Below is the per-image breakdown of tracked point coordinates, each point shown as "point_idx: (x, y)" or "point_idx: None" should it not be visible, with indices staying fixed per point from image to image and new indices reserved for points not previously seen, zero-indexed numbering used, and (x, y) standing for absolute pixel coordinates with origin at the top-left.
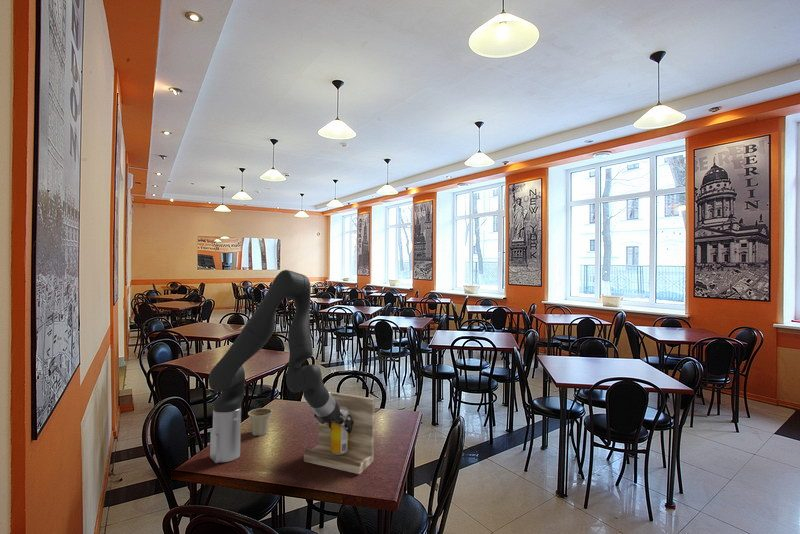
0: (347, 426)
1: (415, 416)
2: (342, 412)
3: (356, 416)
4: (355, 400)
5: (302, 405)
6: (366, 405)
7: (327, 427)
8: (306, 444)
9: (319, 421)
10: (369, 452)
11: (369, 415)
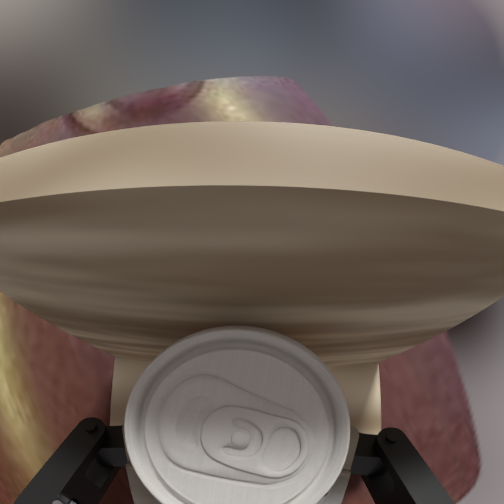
0: (371, 494)
1: (299, 86)
2: (318, 496)
3: (368, 323)
4: (439, 241)
5: (35, 136)
6: None
7: (120, 343)
8: None
9: (88, 475)
10: (372, 361)
11: (480, 305)
